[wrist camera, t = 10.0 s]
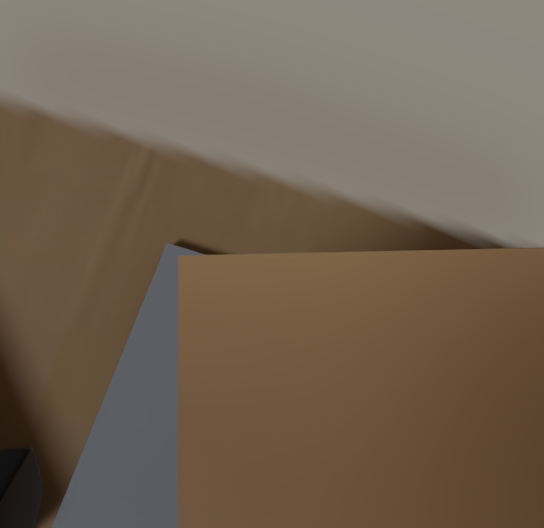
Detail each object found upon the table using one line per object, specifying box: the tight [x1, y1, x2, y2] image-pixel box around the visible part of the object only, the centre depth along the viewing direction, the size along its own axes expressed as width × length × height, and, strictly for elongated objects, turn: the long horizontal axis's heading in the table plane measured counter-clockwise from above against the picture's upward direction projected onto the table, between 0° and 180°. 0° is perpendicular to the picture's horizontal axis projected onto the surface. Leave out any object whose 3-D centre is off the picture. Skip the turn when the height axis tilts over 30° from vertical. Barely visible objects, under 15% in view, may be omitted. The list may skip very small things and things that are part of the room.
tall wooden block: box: [177, 248, 544, 528], centre depth 9 cm, size 4×4×13 cm
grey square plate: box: [52, 243, 205, 528], centre depth 15 cm, size 11×11×1 cm
